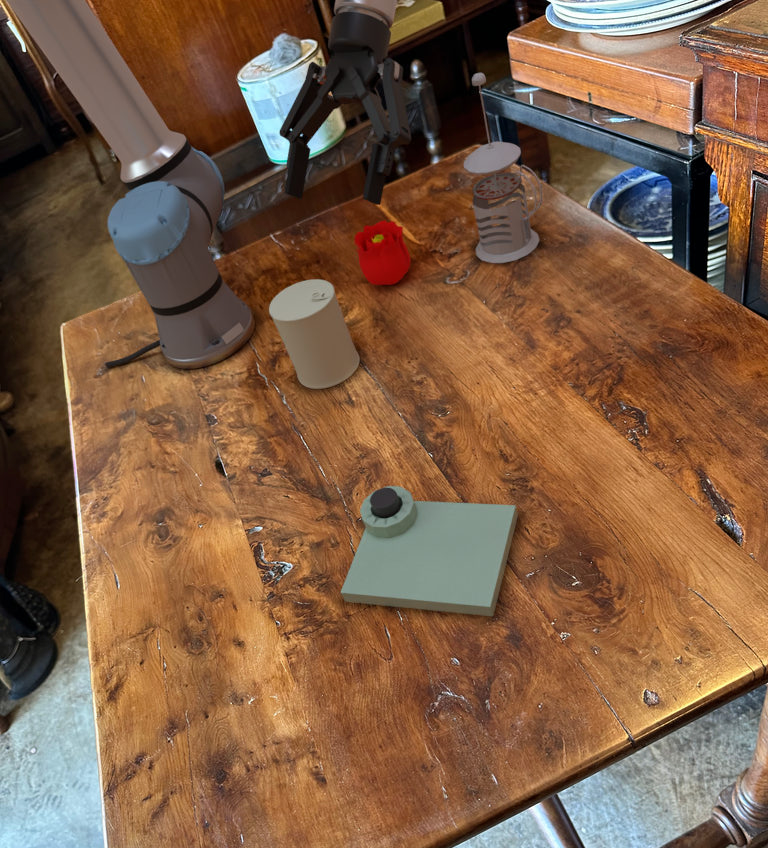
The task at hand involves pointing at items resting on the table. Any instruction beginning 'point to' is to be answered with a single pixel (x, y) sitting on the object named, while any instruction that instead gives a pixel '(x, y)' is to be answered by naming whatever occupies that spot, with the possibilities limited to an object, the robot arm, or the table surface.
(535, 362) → the table surface
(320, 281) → the can
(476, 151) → the french press
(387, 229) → the flower
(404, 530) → the scale
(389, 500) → the button
